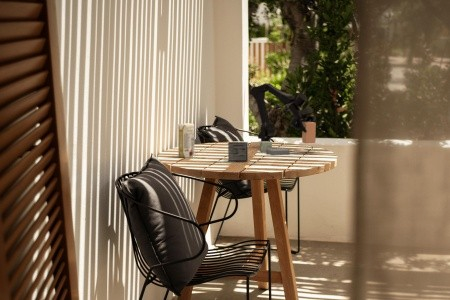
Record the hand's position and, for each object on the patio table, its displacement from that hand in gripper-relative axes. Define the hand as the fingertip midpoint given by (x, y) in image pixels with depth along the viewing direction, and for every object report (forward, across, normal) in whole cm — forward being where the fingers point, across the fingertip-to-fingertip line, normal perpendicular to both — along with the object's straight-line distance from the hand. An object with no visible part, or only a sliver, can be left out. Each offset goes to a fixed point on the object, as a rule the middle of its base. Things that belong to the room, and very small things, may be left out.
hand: (310, 131), depth 462 cm
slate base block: (0, -14, +19) cm, 24 cm away
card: (0, +6, +19) cm, 19 cm away
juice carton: (-21, -60, +40) cm, 75 cm away
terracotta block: (+4, 0, +6) cm, 7 cm away
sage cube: (-8, -12, +27) cm, 31 cm away
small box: (+2, -51, +17) cm, 54 cm away
